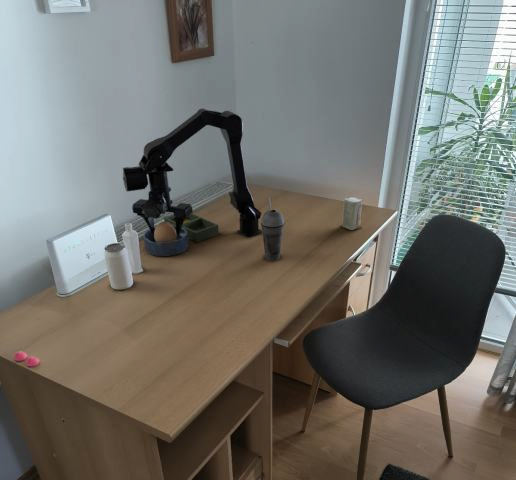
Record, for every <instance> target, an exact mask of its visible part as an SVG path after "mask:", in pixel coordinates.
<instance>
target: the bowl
mask: <svg viewBox="0 0 516 480" xmlns="http://www.w3.org/2000/svg"><path fill="white" fill-rule="evenodd" d="M172 226H173V225H172ZM156 227H157V226H154V232H155V229H156ZM173 227H174V228H175V230H176V226H173ZM154 232H153V233H152V232H151V230H150V229H149V228H148V229H147V230H146V231H145V232H144V233H143V236H142V237H143V243H144V244H143V245H144V249H145V251H146V253H148V254H149V255H152V256H155V257H156V256H157V257H171V256H175V255H179V254H182V253H184V252H185V251H187V250H188V248H189V238H188V235H187V231H186V229H184V228H181V232H180V235H179V236H177V239H176V240H175V241H170V242H156V241H155V238H154ZM176 233H177V232H176Z"/></svg>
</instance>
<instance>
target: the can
mask: <svg viewBox="0 0 516 480" xmlns="http://www.w3.org/2000/svg"><path fill="white" fill-rule="evenodd" d="M103 256H104V260H105V266H106V270H107V275H108V279H109V283H110V287H111V288H112V289H114V290H117V291H124V290H127V289H130V288H131V287H132V286H133V284H134V280H133V273H131V267H130V262H129V257H128V252H127V249H126V248H125V245H124V243H121V242H115V243H110V244H109V243H108V244H106V245H105V246H104V253H103Z"/></svg>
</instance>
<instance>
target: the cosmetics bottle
mask: <svg viewBox="0 0 516 480" xmlns="http://www.w3.org/2000/svg"><path fill="white" fill-rule="evenodd" d="M362 208H363V199H360V198H358V197H355V196H350V197H346V198H343V207H342V222H341V227H343V228H345V229H347V230H349V231H353V230H357V229H360V228H361V221H362V220H361V219H362V210H363V209H362Z"/></svg>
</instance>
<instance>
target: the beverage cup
mask: <svg viewBox="0 0 516 480" xmlns="http://www.w3.org/2000/svg"><path fill="white" fill-rule="evenodd" d="M267 202H268V210H266V212H264V213H263V215H262V217H261V221H260V226H261V231H262V238H263V239H262V240H263V247H264V256H265V259H266V260H267V261H269V262H276V261H278V260H280V258H281V257H280V256H281V251H282V241H283V231H284V227H285V219H284V216H283V214H282V213H281V212H280V211H278V209H277V210H276V209H272V207H271V198H270V195H267Z"/></svg>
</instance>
